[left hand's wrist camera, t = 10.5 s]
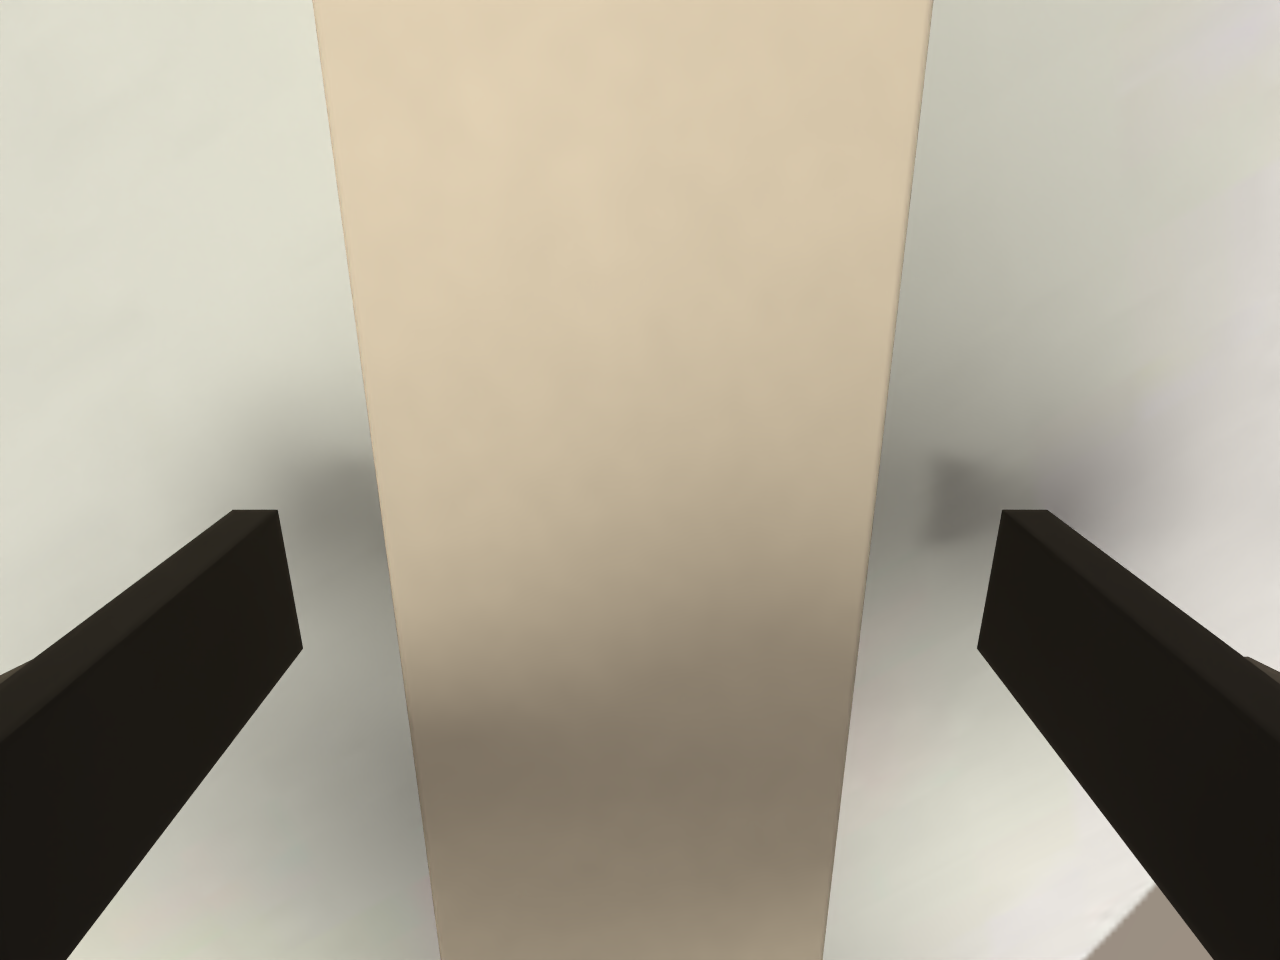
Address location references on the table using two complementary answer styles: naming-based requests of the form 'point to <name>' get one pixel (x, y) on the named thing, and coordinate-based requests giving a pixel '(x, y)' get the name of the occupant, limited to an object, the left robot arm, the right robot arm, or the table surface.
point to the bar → (626, 441)
